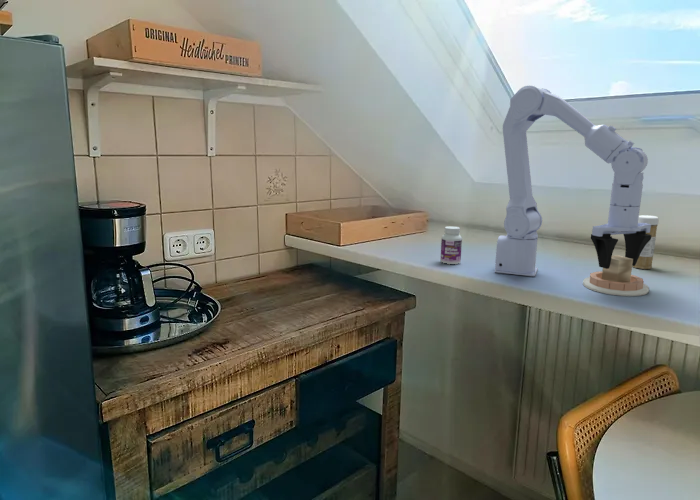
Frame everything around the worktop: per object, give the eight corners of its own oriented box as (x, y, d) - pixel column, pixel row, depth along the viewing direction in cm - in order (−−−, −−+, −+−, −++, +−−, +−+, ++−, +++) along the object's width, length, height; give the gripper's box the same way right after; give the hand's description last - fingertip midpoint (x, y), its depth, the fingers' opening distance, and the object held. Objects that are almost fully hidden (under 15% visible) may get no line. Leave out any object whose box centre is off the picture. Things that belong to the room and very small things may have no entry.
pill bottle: (444, 265, 129) (445, 229, 127) (437, 260, 134) (439, 226, 132) (463, 264, 130) (465, 228, 128) (456, 260, 135) (458, 225, 133)
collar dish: (582, 291, 107) (583, 281, 106) (583, 276, 118) (584, 267, 118) (651, 299, 101) (653, 288, 101) (645, 283, 113) (647, 273, 112)
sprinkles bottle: (638, 264, 130) (644, 214, 127) (655, 268, 126) (662, 216, 123) (627, 266, 128) (634, 215, 125) (645, 270, 124) (652, 217, 121)
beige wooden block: (615, 287, 107) (619, 260, 106) (601, 282, 111) (604, 256, 109) (629, 285, 108) (633, 259, 107) (614, 280, 112) (617, 255, 111)
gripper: (614, 208, 100) (606, 273, 103) (666, 206, 104) (657, 267, 107) (587, 204, 106) (580, 265, 109) (637, 202, 111) (630, 260, 114)
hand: (617, 266), depth 109 cm, fingers open, 7 cm apart
